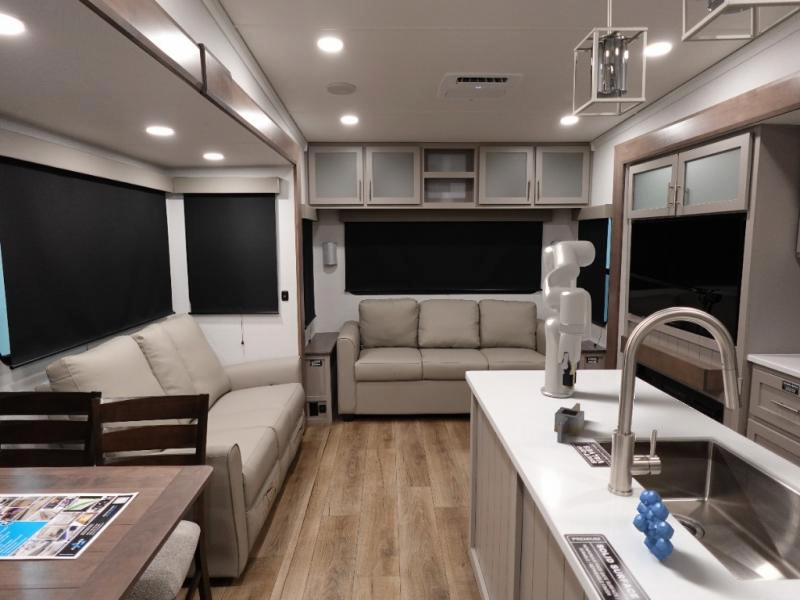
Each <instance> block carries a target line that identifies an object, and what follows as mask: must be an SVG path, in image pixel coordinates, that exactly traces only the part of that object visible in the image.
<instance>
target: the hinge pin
mask: <svg viewBox="0 0 800 600" xmlns="http://www.w3.org/2000/svg"><path fill="white" fill-rule="evenodd" d="M568 364H570V363H568ZM570 365H571V364H570ZM569 368H570V367H569ZM575 372H576V371H575V364H574V365H573V372H572V374H573V386H572V387H569V386H564V388H566V389H571V390H573V389H575V384H574V382H575Z"/></svg>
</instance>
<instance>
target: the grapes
mask: <svg viewBox="0 0 800 600" xmlns="http://www.w3.org/2000/svg"><path fill="white" fill-rule="evenodd" d="M638 499H639V501H640V502H639V504H638V505H637V507H636V511H637V512H638V514H636V515H635V517H634V518H633V521H632V524H633V526H634V527H635V528H636V530H638V531H639V532H641V533H643V534H644V536H645V538H644V541H643V544H644V545H645V546H646V548H647V549H648V550H649V551H650V552H651V553H652V555H653V556H654V557H655V558H656V559H657V560H659V561H661V562H663V561H665V560H666V559H667V557H669V556H671V555H672V554H673V551H674V548H675V546H674V544H673V543H672V542H671V539H672V538H673V536H674V533H675V529H674V528H673V526H672V525H671V524H670V523H669V522H668V521H666V520H667V519H668V517H669V515H670V512H671V511H670V510H669V508H668V507H667V506H666V505H665V504H664V503H663V499H662V497H661V495H660V494H659V493H658V492H657V491H655V490H648V489H644V490H643V491H642V492H641V494H640V495H639V498H638Z"/></svg>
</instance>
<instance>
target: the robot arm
mask: <svg viewBox="0 0 800 600" xmlns="http://www.w3.org/2000/svg"><path fill="white" fill-rule="evenodd" d="M542 257H543V263H544V267H545V270H546V273H547V275H546V277H545V278H544V281H543V284H542V301H543V305H544V307H545V308H546V309H548V310H550V311H551V312H553V313H558V314H559V315H555V316H550V317H548V318H547V319H546V320H545V322H544V334H545V365H544V366H545V369H544V386H542V387H540V393H541V394H543V395H545V396H547V397H552V398H555V399H556V398H560V399H566V398H570V397H572V396H573V395H574V391H573V389H566V388H564V386H569V387H572V386H573V374H572V372H573V365H574V364H575V382H574V385H575V384H577V371H578V363H579V361H580V360H581V356H582V355H581V353H582V342H586V341H588V340H590V339H591V336H592V298H591V295H590V293H589V291H588V290H585V289H584V288H582V287H572V281H574V280H575V279H576V278H578V277H579V275H580V272H581V270H580V269H581V268H580V267H583V268H584V267H587V266H590V265H591V264H592V263H593V262H594V261H595V257H596V248H595V246H594V244H593V243H592V242H591V241H588V240H562V241H559V242H557V243H555V244H554V245H553V244H552V245H548V246H546V247H545V248H544V250H543V255H542ZM568 363H570V364H571V365H570V364H568ZM569 367H570V368H569Z"/></svg>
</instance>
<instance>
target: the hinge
mask: <svg viewBox="0 0 800 600" xmlns="http://www.w3.org/2000/svg"><path fill="white" fill-rule="evenodd" d="M553 425H554V427H553V428H554V430H553V431H554V432H555V431H556V433H557V435H556V436H557V437H556V438H557V439H556V442H557V443H559V444H562V443H563V441H564V440H565V439H566V437H567V436H568V435H570V436H573V437H579V436H580V435H581V433H582V432H583V430H585V429H584V428H585V411H584V410H581V403H579V402H576V403H575V404H574V405H573V407H572V408H569V407H564V406H560V407H559V409H558V410H557V411H555V413H554V424H553Z"/></svg>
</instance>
